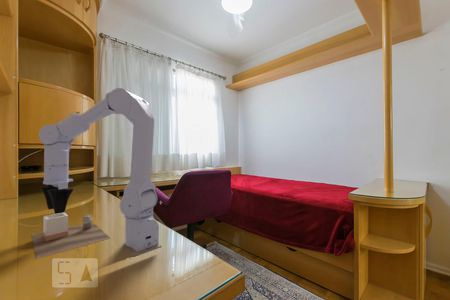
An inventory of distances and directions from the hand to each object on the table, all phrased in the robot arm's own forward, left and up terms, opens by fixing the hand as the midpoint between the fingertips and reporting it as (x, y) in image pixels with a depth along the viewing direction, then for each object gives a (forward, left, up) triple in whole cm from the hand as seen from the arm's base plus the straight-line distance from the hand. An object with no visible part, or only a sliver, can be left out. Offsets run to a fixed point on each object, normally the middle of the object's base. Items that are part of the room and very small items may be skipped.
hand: (56, 210), depth 60 cm
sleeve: (0, 0, -8) cm, 8 cm away
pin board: (-4, -3, -9) cm, 10 cm away
